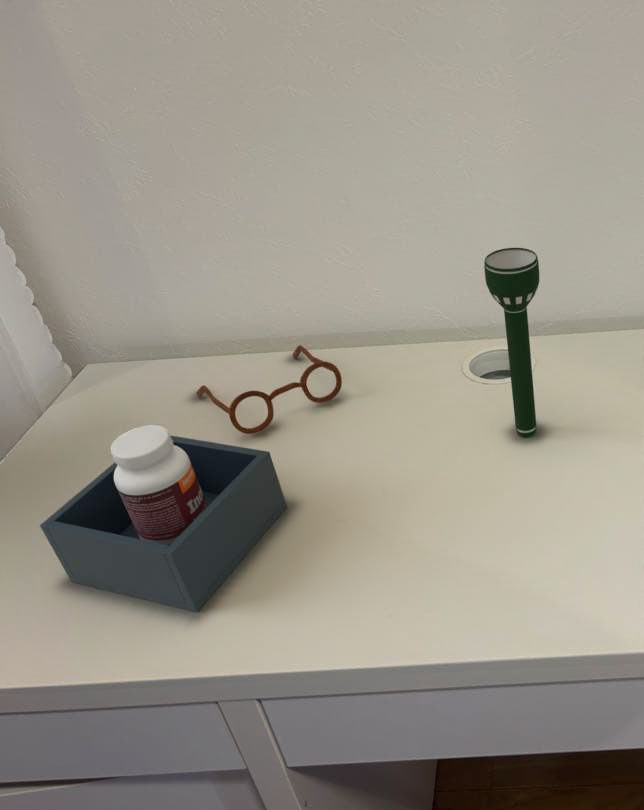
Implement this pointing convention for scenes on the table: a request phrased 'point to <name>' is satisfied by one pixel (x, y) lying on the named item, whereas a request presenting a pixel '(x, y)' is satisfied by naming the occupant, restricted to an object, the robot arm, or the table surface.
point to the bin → (192, 551)
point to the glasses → (277, 393)
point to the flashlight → (516, 323)
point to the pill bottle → (156, 484)
